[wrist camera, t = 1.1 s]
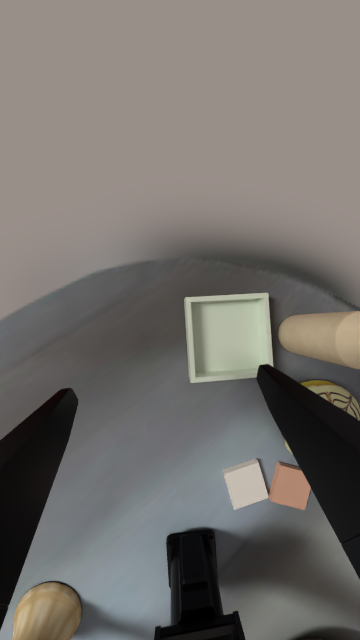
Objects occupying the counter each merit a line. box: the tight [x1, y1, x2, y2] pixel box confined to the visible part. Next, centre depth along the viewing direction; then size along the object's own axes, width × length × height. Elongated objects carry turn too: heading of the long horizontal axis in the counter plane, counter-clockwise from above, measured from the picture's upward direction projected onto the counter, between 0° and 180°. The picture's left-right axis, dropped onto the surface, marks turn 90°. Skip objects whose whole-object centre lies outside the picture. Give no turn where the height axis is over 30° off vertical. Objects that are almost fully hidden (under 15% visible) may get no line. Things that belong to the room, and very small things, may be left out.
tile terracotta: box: [268, 462, 311, 510], centre depth 24 cm, size 5×5×1 cm
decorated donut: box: [284, 380, 360, 454], centre depth 23 cm, size 10×11×4 cm
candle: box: [278, 311, 360, 370], centre depth 19 cm, size 6×6×10 cm
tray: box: [184, 293, 273, 383], centre depth 23 cm, size 11×11×2 cm
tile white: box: [223, 459, 269, 510], centre depth 24 cm, size 5×5×1 cm
